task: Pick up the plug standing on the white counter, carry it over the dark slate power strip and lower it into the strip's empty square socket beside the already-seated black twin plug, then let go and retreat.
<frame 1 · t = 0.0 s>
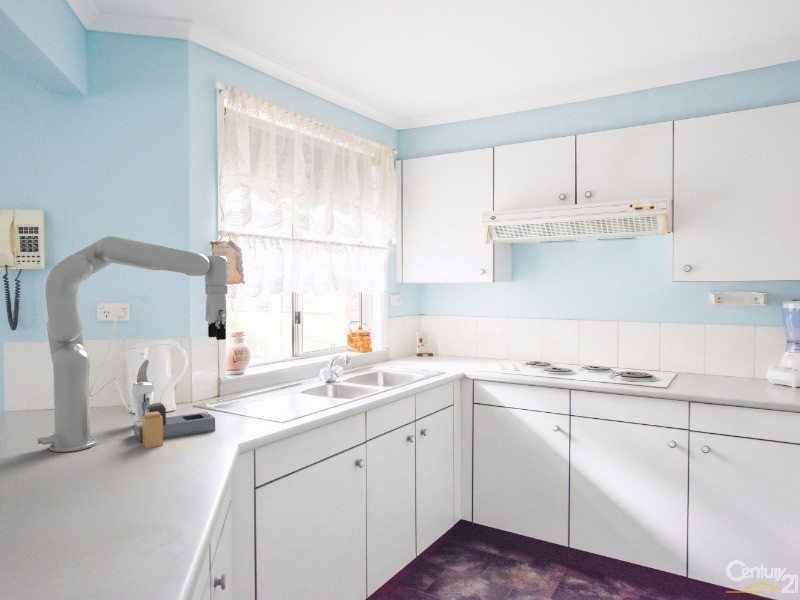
hand: (216, 338, 199), 31 cm above the worktop, fingers open, 9 cm apart
power strip: (175, 432, 190), on the worktop
beer glass: (143, 425, 200), on the worktop
plug: (152, 444, 177), on the worktop
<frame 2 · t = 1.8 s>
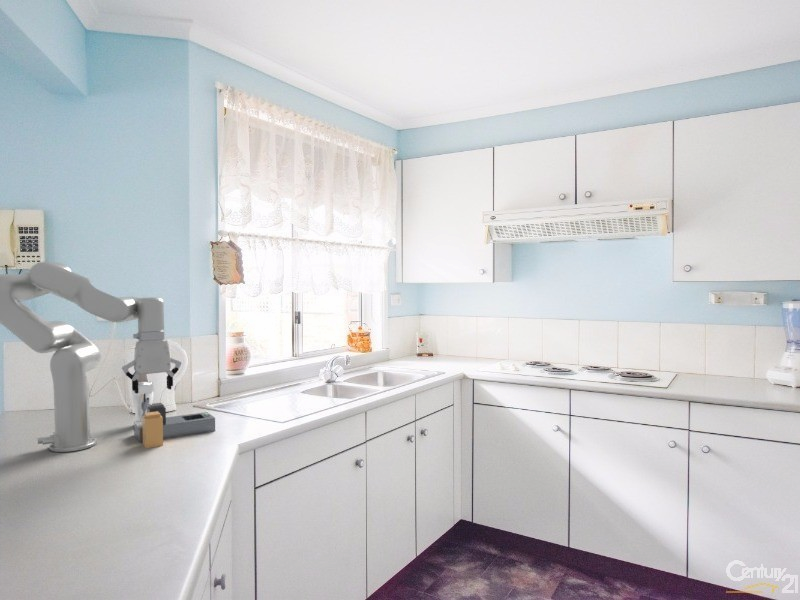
hand: (153, 390, 176), 17 cm above the worktop, fingers open, 9 cm apart
nothing on the worktop moved.
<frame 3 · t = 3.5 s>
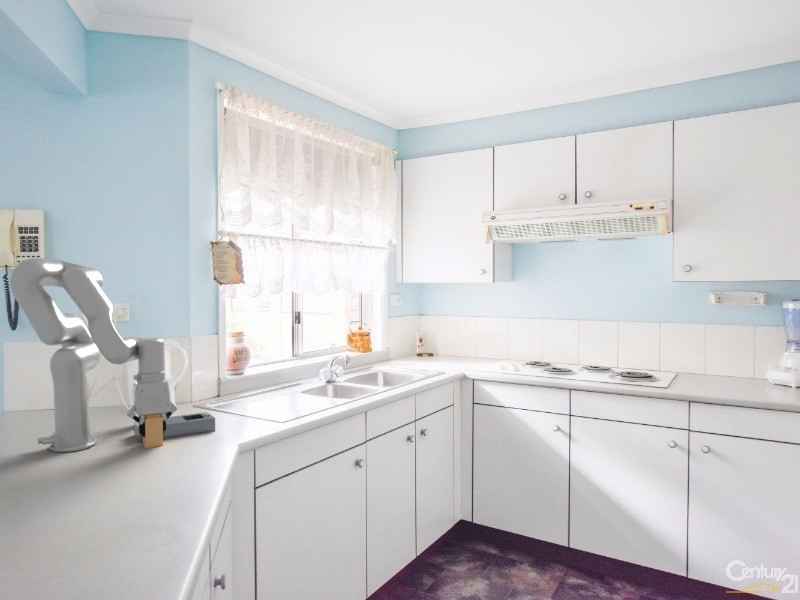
hand: (152, 433, 177), 3 cm above the worktop, fingers closed on plug, 5 cm apart
plug: (152, 444, 177), on the worktop, touching gripper
everything else where it was.
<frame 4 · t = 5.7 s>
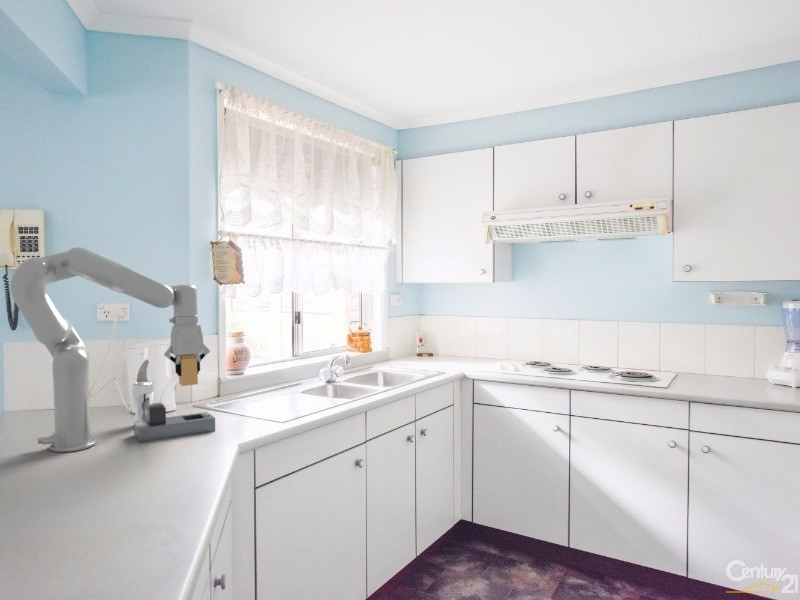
hand: (188, 373, 190), 20 cm above the worktop, fingers closed on plug, 5 cm apart
plug: (188, 383, 190), point 17 cm above the worktop, touching gripper
everything else where it was.
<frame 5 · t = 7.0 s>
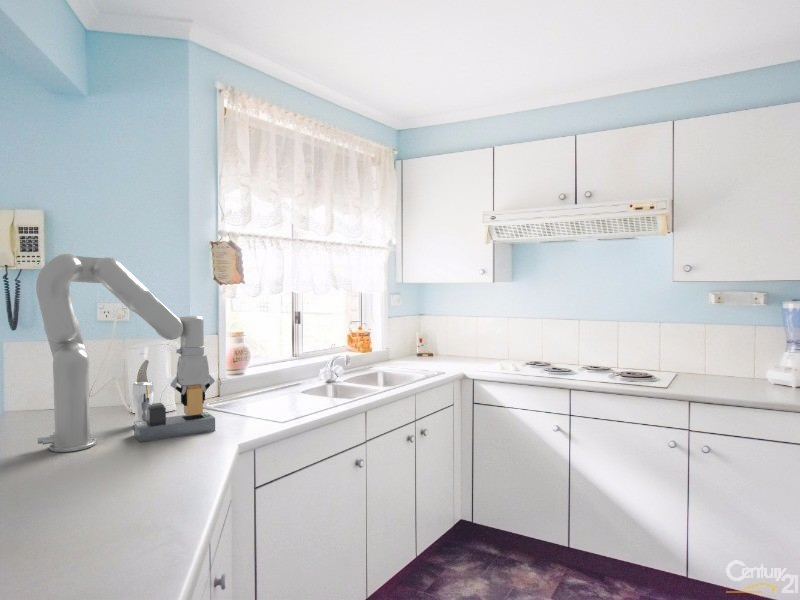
hand: (193, 403, 193), 9 cm above the worktop, fingers closed on plug, 5 cm apart
plug: (193, 413, 193), point 6 cm above the worktop, touching gripper
everything else where it was.
when the fingers open (6 cm above the worktop, at t = 8.1 s): plug drops 2 cm, resting in power strip.
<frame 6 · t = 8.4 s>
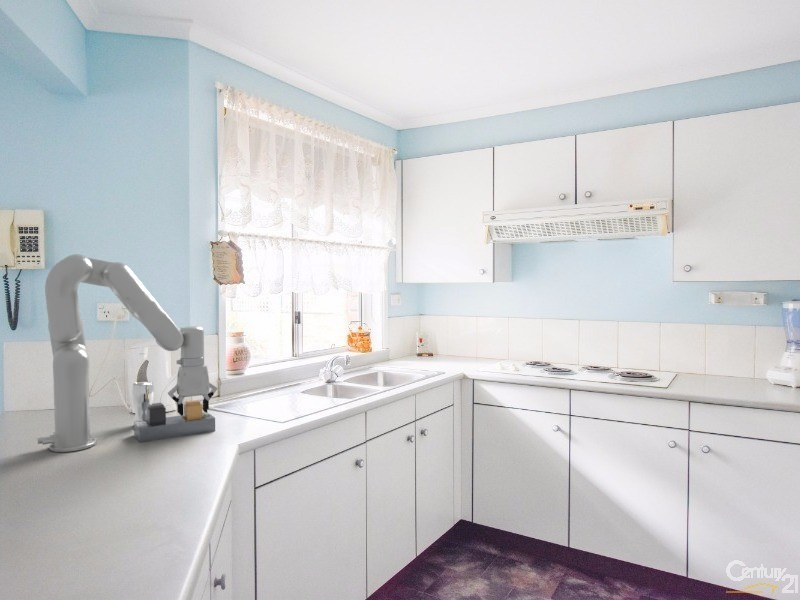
hand: (193, 412, 193), 6 cm above the worktop, fingers open, 7 cm apart
plug: (193, 430, 193), resting in power strip
everything else where it was.
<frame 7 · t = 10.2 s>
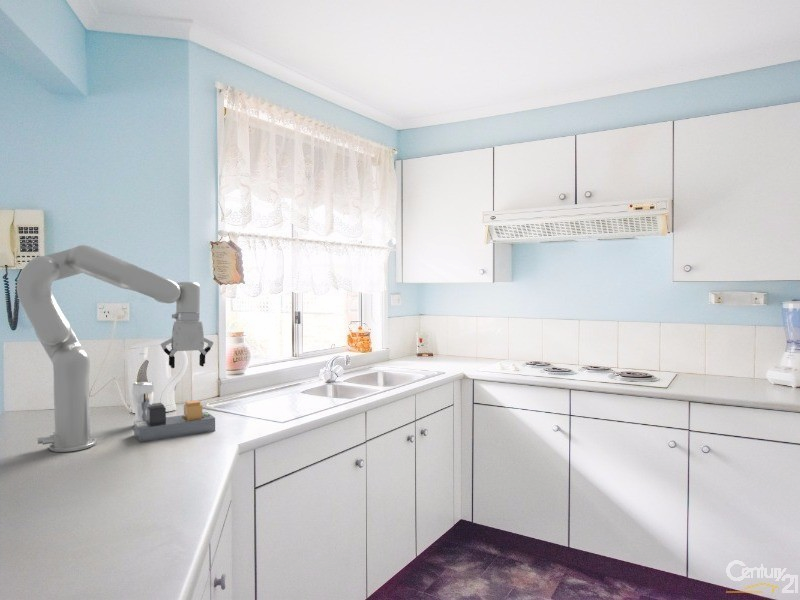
hand: (187, 366, 193), 22 cm above the worktop, fingers open, 9 cm apart
nothing on the worktop moved.
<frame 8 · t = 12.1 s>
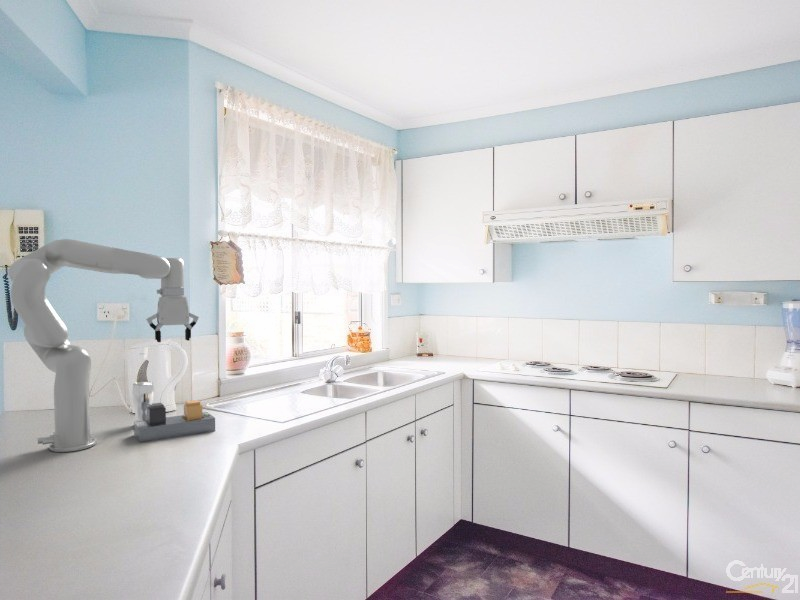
hand: (173, 341, 198), 30 cm above the worktop, fingers open, 9 cm apart
nothing on the worktop moved.
at the end: plug 0.1 cm from the target spot on the power strip, point 0.0 cm above the power strip's base; plug tilted 0°; the gripper is holding nothing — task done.
